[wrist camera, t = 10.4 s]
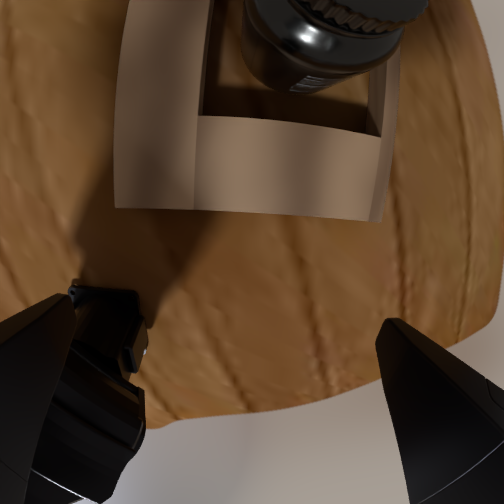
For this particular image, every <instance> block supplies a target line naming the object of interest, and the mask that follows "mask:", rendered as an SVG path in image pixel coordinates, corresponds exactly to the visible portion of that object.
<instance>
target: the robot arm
mask: <svg viewBox="0 0 504 504" xmlns="http://www.w3.org/2000/svg"><path fill="white" fill-rule="evenodd" d="M72 290H73V291H74V292H75V293H74V292H73V291H72ZM130 296H133V297H134V299H132V298H131V297H130ZM147 342H148V337H147V331H146V324H145V318H144V317H143V315H141V311H140V304H139V297H138V294H137V293H136V292H135V291H131V290H119V289H107V288H96V287H86V286H76V285H72V286H70V287H69V289H68V295H67V294H61V293H57V294H55V295H53V296H51V297H49V298H47V299H45V300H43V301H41V302H39V303H37V304H35V305H33V306H31V307H29V308H27V309H25V310H23V311H21V312H19V313H17V314H15V315H13V316H11V317H9V318H8V319H6V320H4V321H2V322H0V504H72V503H75V502H77V501H80V500H82V499H87V500H89V501H92V502H94V503H96V504H102V503H103V502H104V501H106V500H107V499H109V498H110V497H111V496H112V494H113V492H114V489H115V487H116V484H117V482H118V479H119V477H120V475H121V472H122V471H123V470H124V468H125V466H126V464H127V463H128V462H129V461H130V460H131V459H132V458H133V457H134V456H135V454H136V453H137V452H138V450H139V449H140V447H141V445H142V442H143V440H144V436H145V431H146V419H145V394H144V390H143V389H142V388H140V387H136V386H135V385H133V384H132V383H130V382H129V378H130V375H131V373H135V374H136V373H137V372H138V370H139V367H140V364H141V361H142V357H143V354H145V353H146V350H147V347H146V345H147ZM375 347H376V352H377V357H378V362H379V368H380V373H381V379H382V384H383V388H384V393H385V397H386V401H387V404H388V408H389V412H390V415H391V419H392V423H393V427H394V430H395V435H396V439H397V443H398V447H399V452H400V456H401V461H402V465H403V470H404V475H405V480H406V485H407V490H408V496H409V501H410V504H504V390H503V389H501V388H500V387H498V386H497V385H495V384H494V383H493V382H491V381H490V380H488V379H485V377H484V376H483V375H481V374H480V373H478V372H477V371H476V370H474V369H473V368H471V367H470V366H468V365H467V364H466V363H464V362H463V361H461V360H460V359H458V358H457V357H456V356H454V355H453V354H451V353H450V352H448V351H447V350H445V349H444V348H443V347H441V346H440V345H438V344H437V343H435V342H434V341H432V340H431V339H429V338H428V337H427V336H425V335H424V334H422V333H421V332H419V331H418V330H416V329H415V328H413V327H412V326H410V325H409V324H407V323H406V322H404V321H403V320H401V319H400V318H387V319H385V320H384V322H383V324H382V327H381V329H380V331H379V334H378V336H377V338H376V342H375Z"/></svg>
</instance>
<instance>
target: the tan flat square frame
mask: <svg viewBox="0 0 504 504" xmlns="http://www.w3.org/2000/svg"><path fill="white" fill-rule="evenodd" d="M213 7H214V0H130V1H129V6H128V11H127V16H126V21H125V26H124V32H123V38H122V45H121V52H120V59H119V68H118V77H117V87H116V100H115V117H114V155H113V159H114V199H115V208H152V209H187V210H213V211H234V212H253V213H270V214H285V215H299V216H312V217H325V218H337V219H348V220H359V221H369V222H379V223H381V220H382V215H383V210H384V205H385V199H386V194H387V188H388V182H389V176H390V170H391V163H392V156H393V148H394V140H395V132H396V122H397V111H398V98H399V80H400V46H399V47H398V49H397V51H396V52H395V53H394V54H393V56H392V57H391V58H390V59H389V60H387V61H386V62H385V63H383V64H381V65H380V66H378V67H376V68H374V69H372V70H370V80H369V95H368V107H367V118H366V128H365V134H361V133H356V132H351V131H346V130H340V129H335V128H329V127H323V126H316V125H309V124H302V123H294V122H286V121H277V120H267V119H255V118H242V117H223V116H202V112H203V99H204V87H205V76H206V66H207V56H208V47H209V38H210V30H211V22H212V14H213Z"/></svg>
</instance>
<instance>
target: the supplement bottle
mask: <svg viewBox="0 0 504 504" xmlns="http://www.w3.org/2000/svg"><path fill="white" fill-rule="evenodd" d="M427 7H428V0H244V3H243V16H242V30H241V52H242V56H243V59H244V62H245V64H246V66H247V68H248V69H249V71H250V72H251V73H252V74H253V76H254V77H255V78H256V79H257V80H259V81H260V82H261V83H262V84H264V85H265V86H267V87H269V88H271V89H273V90H275V91H278V92H281V93H285V94H290V95H307V94H312V93H316V92H319V91H321V90H324V89H327V88H329V87H331V86H333V85H336V84H338V83H340V82H343V81H345V80H347V79H350V78H352V77H355V76H357V75H360V74H362V73H365V72H367V71H370V70H372V69H374V68H376V67H378V66H380V65H381V64H383V63H385V62H386V61H387V60H389V59H390V58H391V57H392V56H393V54H394V53H395V52H396V51H397V49H398V47H399V46H400V43H401V41H402V38H403V35H404V29H405V25H407V24H409V23H411V22H413V21H415V20H416V19H417V17H419V16H421V15H422V14H423V13H424V9H426V8H427Z"/></svg>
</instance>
